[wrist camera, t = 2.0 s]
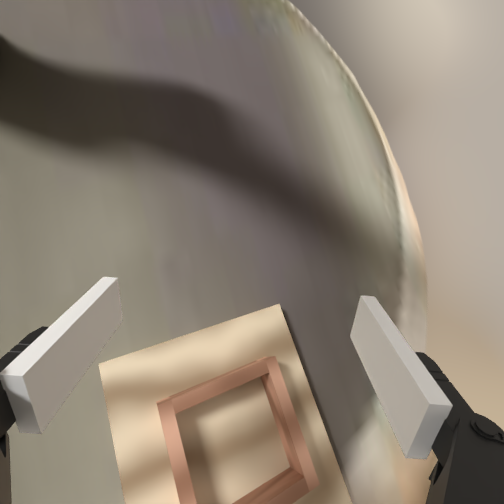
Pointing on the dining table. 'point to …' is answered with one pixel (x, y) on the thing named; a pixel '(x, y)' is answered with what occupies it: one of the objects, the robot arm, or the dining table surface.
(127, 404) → the holder
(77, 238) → the dining table surface
